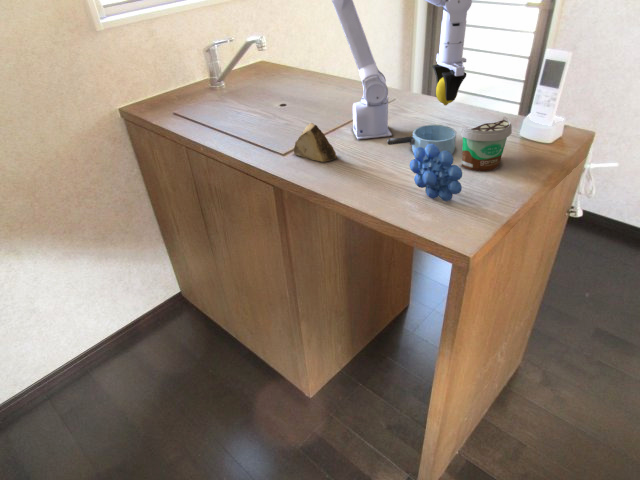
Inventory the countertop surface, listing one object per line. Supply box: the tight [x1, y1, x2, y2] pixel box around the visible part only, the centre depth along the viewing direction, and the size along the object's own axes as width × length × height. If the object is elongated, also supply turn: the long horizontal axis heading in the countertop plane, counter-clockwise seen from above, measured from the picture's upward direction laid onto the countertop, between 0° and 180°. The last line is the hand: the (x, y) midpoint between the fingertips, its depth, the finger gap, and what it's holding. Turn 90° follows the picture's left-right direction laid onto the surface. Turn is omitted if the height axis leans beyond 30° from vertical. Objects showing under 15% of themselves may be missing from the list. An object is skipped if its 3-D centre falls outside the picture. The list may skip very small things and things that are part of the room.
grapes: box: [408, 143, 463, 202], centre depth 90 cm, size 12×7×12 cm, turn 52°
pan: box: [411, 124, 457, 155], centre depth 112 cm, size 10×10×4 cm
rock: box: [293, 122, 338, 163], centre depth 113 cm, size 11×9×10 cm
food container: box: [460, 116, 513, 172], centre depth 101 cm, size 12×6×10 cm, turn 114°
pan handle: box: [386, 136, 415, 146], centre depth 111 cm, size 7×2×2 cm, turn 96°
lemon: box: [435, 78, 459, 106], centre depth 116 cm, size 6×6×8 cm
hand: (446, 96), depth 117 cm, fingers closed on lemon, 5 cm apart
